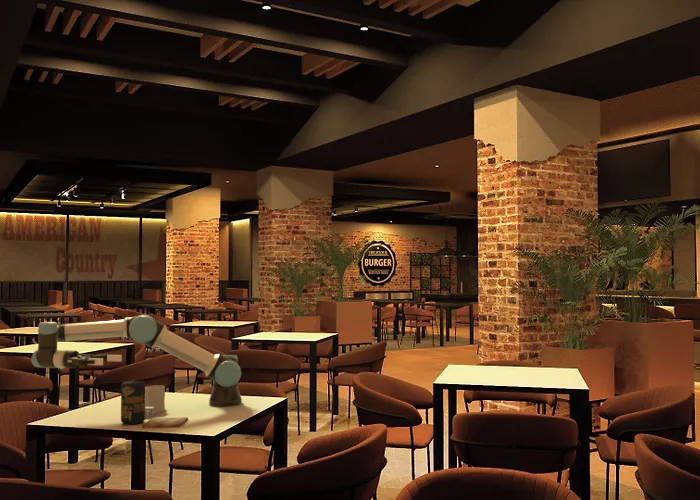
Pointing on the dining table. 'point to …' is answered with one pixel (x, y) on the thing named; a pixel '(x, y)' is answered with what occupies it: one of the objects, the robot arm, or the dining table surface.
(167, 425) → the walnut board
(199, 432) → the dining table surface
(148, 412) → the letter cube
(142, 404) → the canister
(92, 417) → the dining table surface
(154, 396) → the mug
